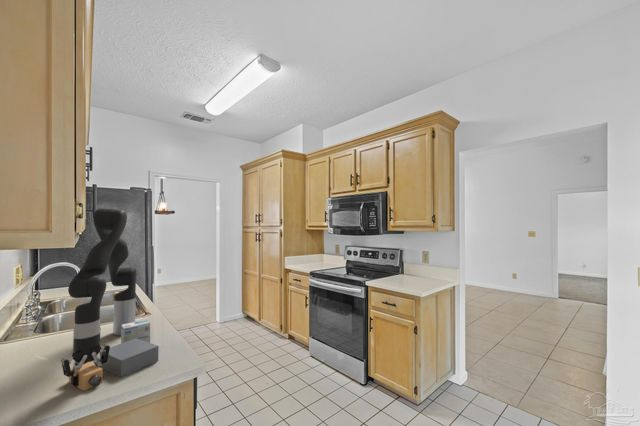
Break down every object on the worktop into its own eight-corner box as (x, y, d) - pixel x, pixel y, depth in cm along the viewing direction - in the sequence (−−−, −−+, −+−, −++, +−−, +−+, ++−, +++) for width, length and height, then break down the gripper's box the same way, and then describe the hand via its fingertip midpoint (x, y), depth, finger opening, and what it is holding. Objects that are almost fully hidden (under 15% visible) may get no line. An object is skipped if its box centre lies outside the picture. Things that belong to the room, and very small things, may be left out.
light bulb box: (146, 341, 137) (147, 318, 138) (150, 345, 133) (151, 322, 133) (120, 348, 130) (120, 324, 130) (123, 353, 125) (123, 328, 125)
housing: (68, 382, 103) (69, 368, 103) (87, 375, 107) (87, 361, 108) (86, 392, 96) (87, 377, 97) (105, 384, 101) (105, 370, 101)
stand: (99, 366, 113) (99, 351, 114) (136, 352, 126) (136, 338, 126) (121, 376, 106) (121, 360, 106) (158, 360, 118) (158, 345, 118)
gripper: (104, 325, 111) (103, 369, 110) (56, 338, 98) (55, 388, 98) (115, 328, 107) (114, 374, 107) (66, 343, 94) (65, 395, 94)
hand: (86, 381), depth 102 cm, fingers open, 5 cm apart
